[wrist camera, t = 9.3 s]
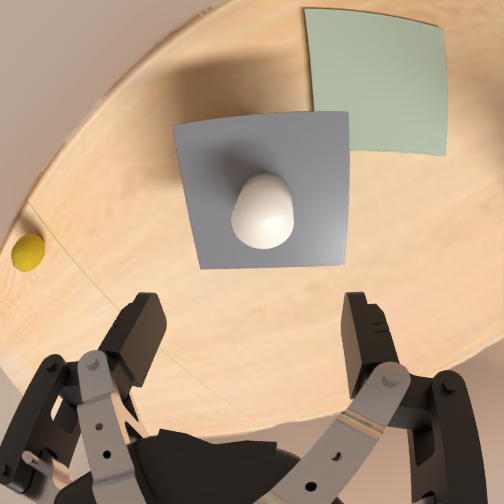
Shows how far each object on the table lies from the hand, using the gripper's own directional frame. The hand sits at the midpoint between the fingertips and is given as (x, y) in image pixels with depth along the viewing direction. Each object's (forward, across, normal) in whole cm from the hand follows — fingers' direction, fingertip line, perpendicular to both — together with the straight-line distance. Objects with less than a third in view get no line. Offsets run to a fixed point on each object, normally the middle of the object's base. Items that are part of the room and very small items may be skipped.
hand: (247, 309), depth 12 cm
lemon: (+22, +39, +7) cm, 45 cm away
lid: (+13, 0, 0) cm, 13 cm away
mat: (+22, -13, -10) cm, 28 cm away
